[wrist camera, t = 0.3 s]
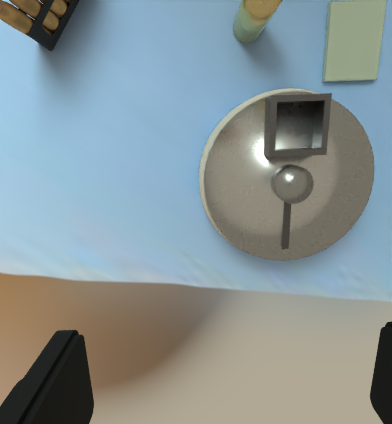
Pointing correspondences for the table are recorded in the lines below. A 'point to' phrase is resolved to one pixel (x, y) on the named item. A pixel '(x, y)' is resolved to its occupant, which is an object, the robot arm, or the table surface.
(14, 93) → the table surface
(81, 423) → the robot arm
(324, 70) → the mat
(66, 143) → the table surface
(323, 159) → the grey round shallow disc
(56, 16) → the ammunition clip
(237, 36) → the brass rounded cylinder
